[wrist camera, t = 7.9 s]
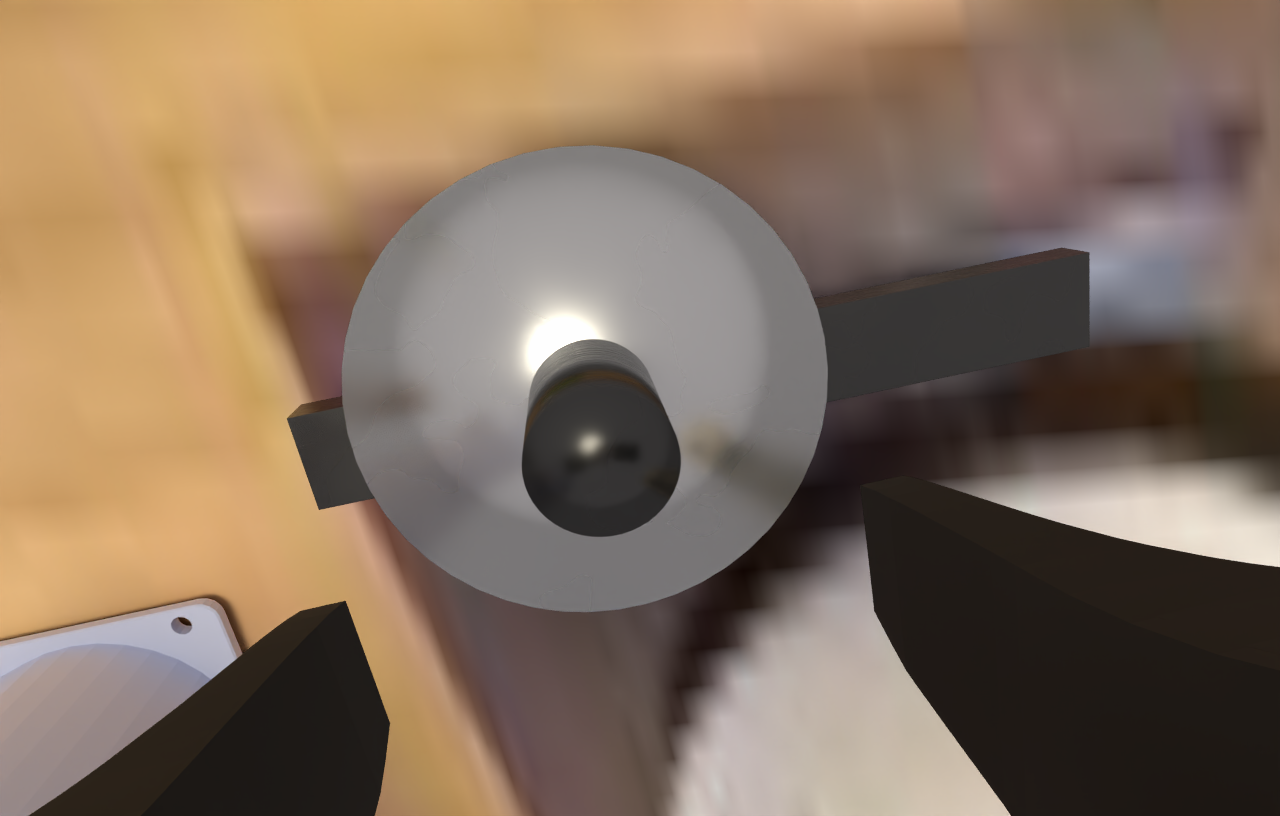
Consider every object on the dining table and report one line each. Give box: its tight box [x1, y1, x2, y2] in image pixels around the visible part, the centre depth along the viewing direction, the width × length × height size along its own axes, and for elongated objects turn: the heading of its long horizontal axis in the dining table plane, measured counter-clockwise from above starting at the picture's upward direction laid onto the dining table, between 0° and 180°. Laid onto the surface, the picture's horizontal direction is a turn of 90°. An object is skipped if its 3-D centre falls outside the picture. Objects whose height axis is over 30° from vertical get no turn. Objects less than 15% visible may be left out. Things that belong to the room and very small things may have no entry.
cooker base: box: [287, 248, 1089, 510], centre depth 19 cm, size 18×9×4 cm, turn 101°
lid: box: [342, 145, 828, 612], centre depth 15 cm, size 10×10×5 cm
